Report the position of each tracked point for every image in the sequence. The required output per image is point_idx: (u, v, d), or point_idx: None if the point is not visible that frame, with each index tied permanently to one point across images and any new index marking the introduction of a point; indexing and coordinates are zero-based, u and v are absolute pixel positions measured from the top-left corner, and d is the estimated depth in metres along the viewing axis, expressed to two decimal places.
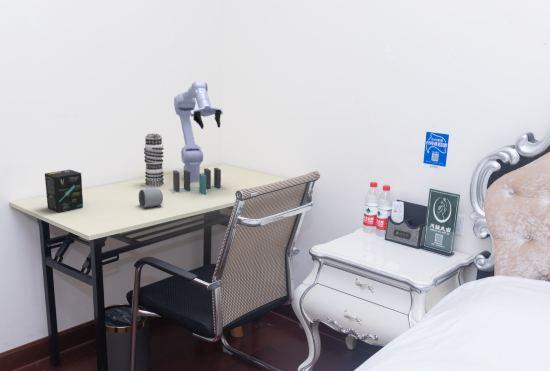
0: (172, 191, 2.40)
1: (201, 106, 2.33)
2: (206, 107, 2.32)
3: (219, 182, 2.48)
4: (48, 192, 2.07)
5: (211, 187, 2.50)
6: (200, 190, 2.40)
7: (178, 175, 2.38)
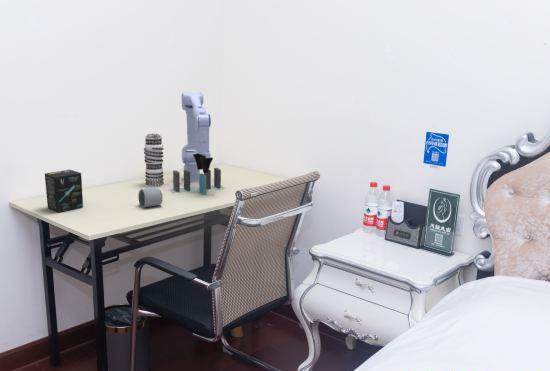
0: (172, 191, 2.40)
1: None
2: (195, 152, 2.34)
3: (219, 182, 2.48)
4: (48, 192, 2.07)
5: (211, 187, 2.50)
6: (200, 190, 2.40)
7: (178, 175, 2.38)
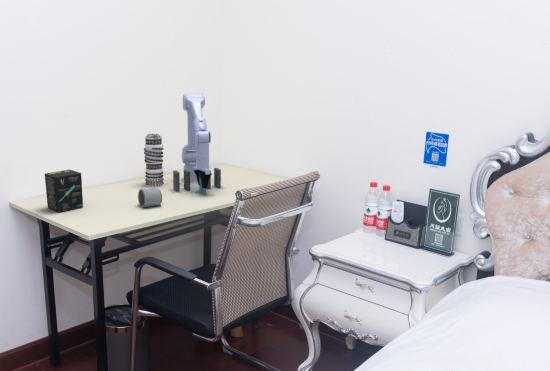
0: (172, 191, 2.40)
1: None
2: None
3: (219, 182, 2.48)
4: (48, 192, 2.07)
5: (211, 187, 2.50)
6: (200, 190, 2.40)
7: (178, 175, 2.38)
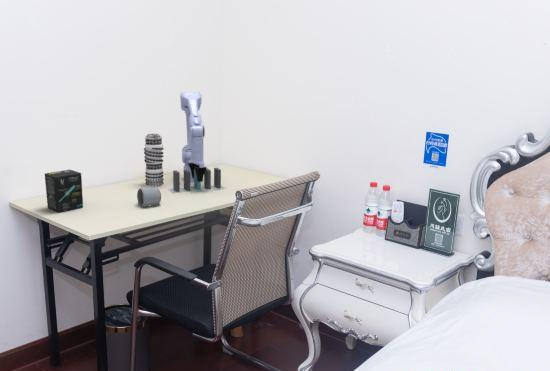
0: (172, 191, 2.40)
1: None
2: None
3: (219, 182, 2.48)
4: (48, 192, 2.07)
5: (211, 187, 2.50)
6: (195, 185, 2.46)
7: (178, 175, 2.38)
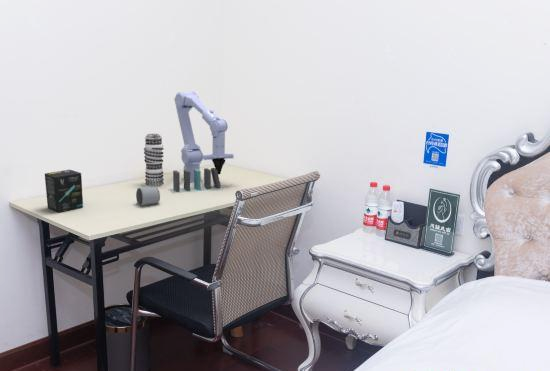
0: (172, 191, 2.40)
1: (215, 153, 2.44)
2: (219, 157, 2.45)
3: (217, 181, 2.48)
4: (48, 192, 2.07)
5: (211, 187, 2.50)
6: (195, 185, 2.46)
7: (178, 175, 2.38)
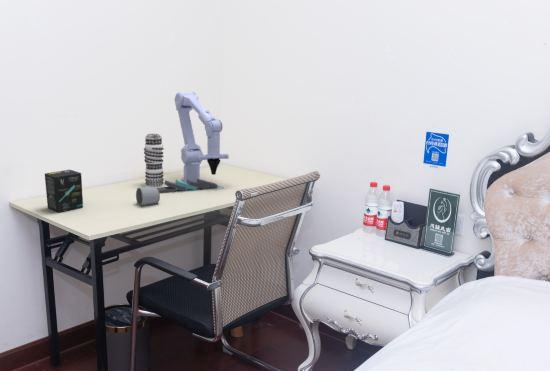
0: None
1: (210, 153, 2.43)
2: (214, 157, 2.43)
3: (211, 185, 2.47)
4: (48, 192, 2.07)
5: (211, 187, 2.50)
6: None
7: (159, 191, 2.36)
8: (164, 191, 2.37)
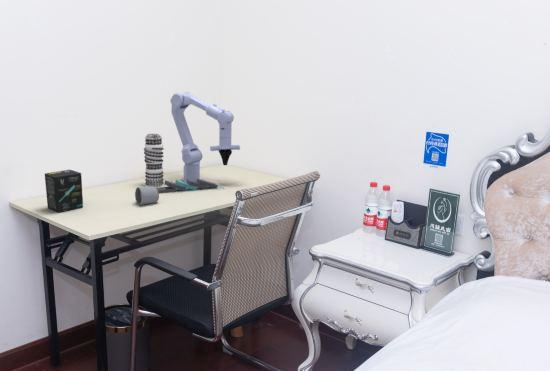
0: None
1: (222, 144, 2.48)
2: (226, 148, 2.48)
3: (211, 185, 2.47)
4: (48, 192, 2.07)
5: (211, 187, 2.50)
6: None
7: (159, 191, 2.36)
8: (164, 191, 2.37)
